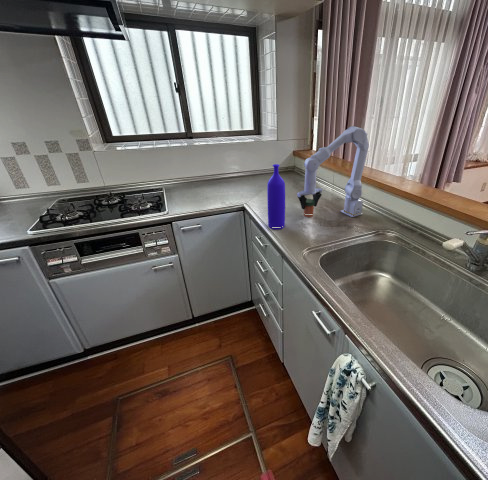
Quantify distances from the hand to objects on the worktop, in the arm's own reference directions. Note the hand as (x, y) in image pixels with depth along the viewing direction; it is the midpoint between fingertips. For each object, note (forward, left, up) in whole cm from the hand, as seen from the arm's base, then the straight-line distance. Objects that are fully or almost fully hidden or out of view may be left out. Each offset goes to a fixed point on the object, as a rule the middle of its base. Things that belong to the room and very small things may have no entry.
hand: (309, 207), depth 142 cm
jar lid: (0, 0, +3) cm, 4 cm away
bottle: (-3, +22, -5) cm, 23 cm away
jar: (0, 0, -4) cm, 4 cm away
